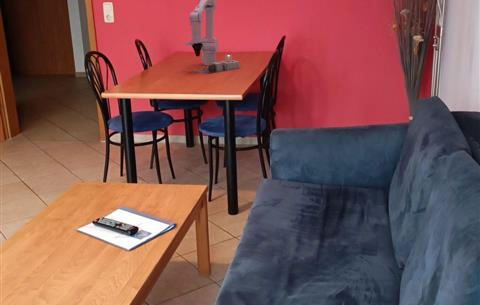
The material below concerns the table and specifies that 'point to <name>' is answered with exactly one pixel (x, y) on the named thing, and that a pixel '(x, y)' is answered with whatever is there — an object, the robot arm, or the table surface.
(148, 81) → the table surface
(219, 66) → the pin guide
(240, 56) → the table surface
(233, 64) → the socket
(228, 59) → the peg
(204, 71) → the base plate
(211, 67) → the pin
